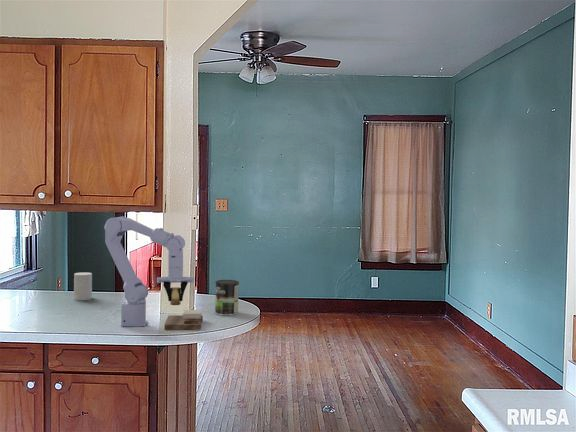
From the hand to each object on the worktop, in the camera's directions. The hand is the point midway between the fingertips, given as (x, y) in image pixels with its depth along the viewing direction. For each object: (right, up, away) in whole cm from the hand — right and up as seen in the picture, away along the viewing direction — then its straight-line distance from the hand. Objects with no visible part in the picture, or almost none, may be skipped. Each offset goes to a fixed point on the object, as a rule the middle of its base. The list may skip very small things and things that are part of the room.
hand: (175, 300), depth 244 cm
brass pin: (0, -1, 0) cm, 1 cm away
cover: (+5, -8, +9) cm, 13 cm away
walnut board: (+3, -10, +4) cm, 11 cm away
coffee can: (+18, -9, +27) cm, 33 cm away
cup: (-54, -6, +52) cm, 75 cm away
